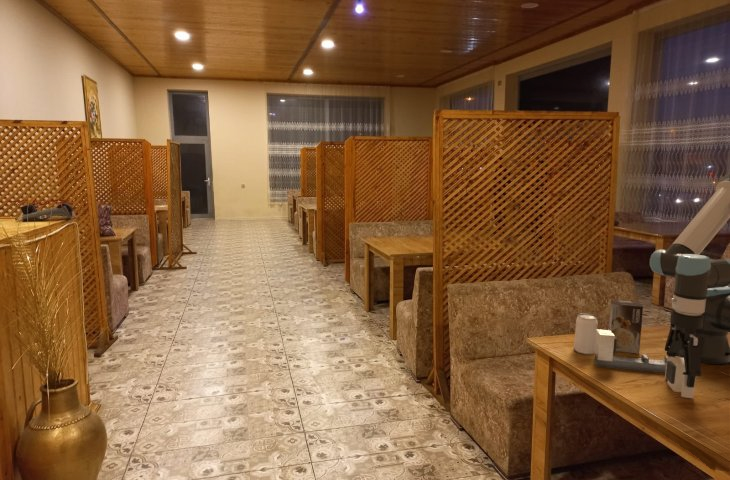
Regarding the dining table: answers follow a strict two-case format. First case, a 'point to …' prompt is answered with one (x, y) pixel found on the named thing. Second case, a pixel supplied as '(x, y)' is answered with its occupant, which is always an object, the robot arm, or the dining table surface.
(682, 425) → the dining table surface
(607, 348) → the rail
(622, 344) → the coffee box
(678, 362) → the white block
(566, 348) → the dining table surface
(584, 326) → the can
